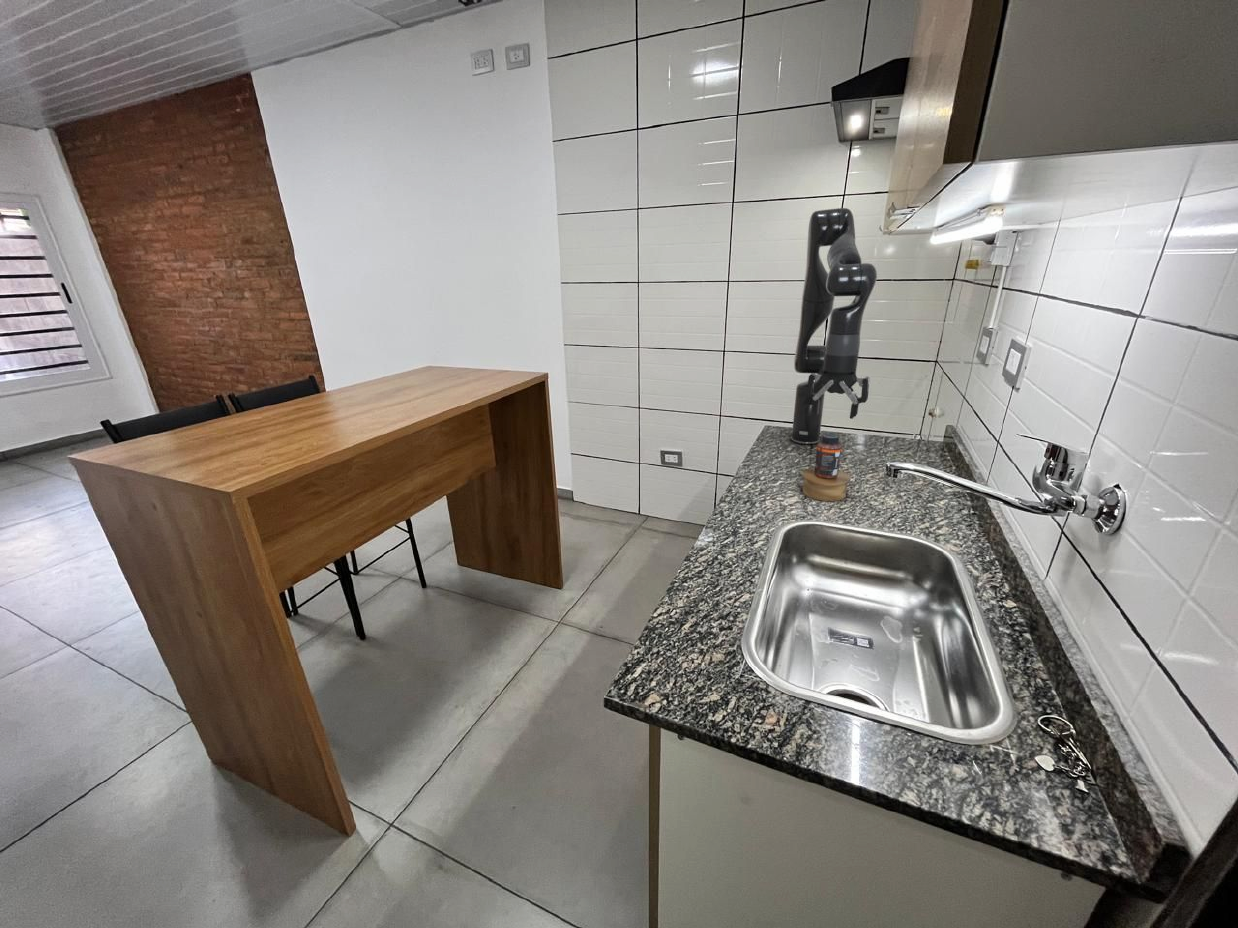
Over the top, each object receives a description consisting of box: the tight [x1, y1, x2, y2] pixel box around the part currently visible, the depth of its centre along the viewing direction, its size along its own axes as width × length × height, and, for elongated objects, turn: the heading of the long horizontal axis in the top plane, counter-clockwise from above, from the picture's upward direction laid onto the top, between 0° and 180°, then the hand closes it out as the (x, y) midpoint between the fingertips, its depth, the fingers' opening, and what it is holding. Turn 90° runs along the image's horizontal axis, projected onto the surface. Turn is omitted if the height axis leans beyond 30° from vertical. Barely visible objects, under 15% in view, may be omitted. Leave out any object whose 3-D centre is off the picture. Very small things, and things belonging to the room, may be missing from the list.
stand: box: [801, 467, 851, 502], centre depth 131 cm, size 12×12×5 cm
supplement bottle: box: [814, 432, 843, 479], centre depth 128 cm, size 6×6×11 cm
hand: (833, 416), depth 124 cm, fingers open, 8 cm apart
